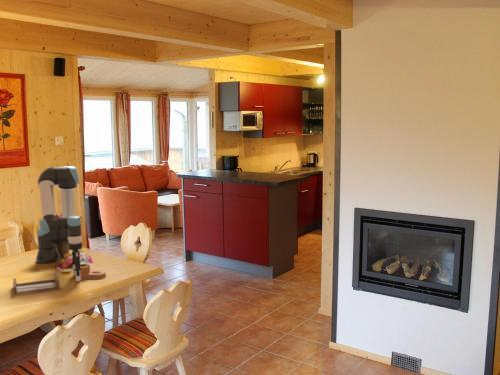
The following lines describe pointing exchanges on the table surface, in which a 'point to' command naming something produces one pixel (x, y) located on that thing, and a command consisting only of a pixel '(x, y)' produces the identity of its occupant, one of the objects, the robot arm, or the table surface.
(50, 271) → the table surface
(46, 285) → the wooden window with sill
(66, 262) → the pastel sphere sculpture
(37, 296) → the table surface
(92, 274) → the bracket
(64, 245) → the flowerpot
